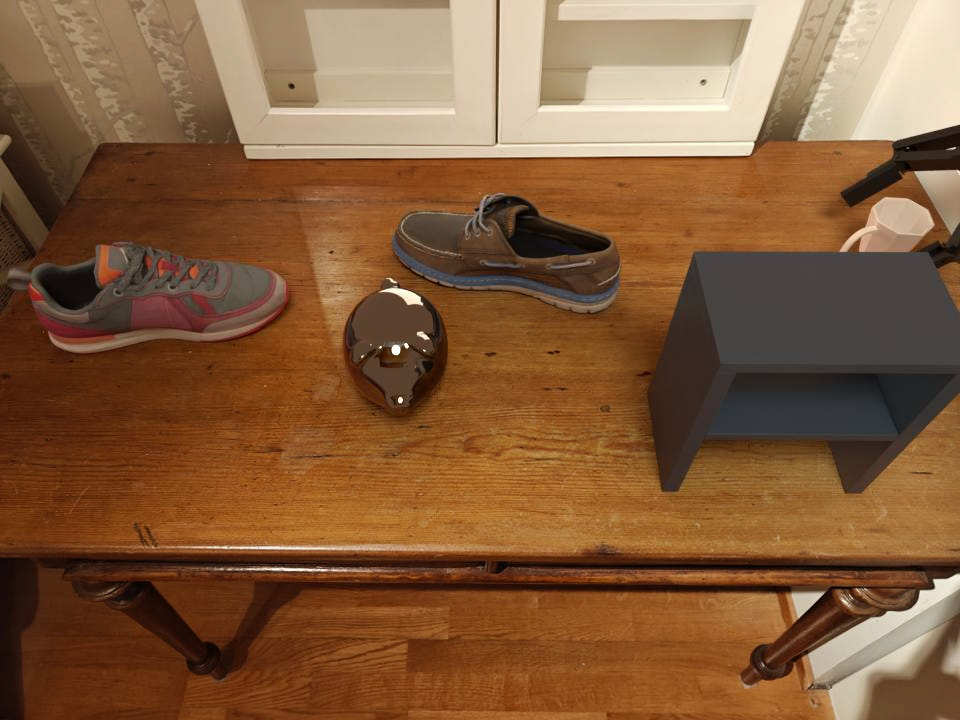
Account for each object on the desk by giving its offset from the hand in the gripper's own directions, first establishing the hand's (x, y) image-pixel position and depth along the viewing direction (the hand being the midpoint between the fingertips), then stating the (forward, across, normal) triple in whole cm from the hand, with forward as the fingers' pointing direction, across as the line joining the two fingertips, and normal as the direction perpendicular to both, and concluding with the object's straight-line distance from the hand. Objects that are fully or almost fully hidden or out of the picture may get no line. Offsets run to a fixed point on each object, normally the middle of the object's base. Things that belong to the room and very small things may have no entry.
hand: (862, 237), depth 85 cm
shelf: (+17, -25, +10) cm, 32 cm away
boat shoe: (+34, +1, +27) cm, 44 cm away
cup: (+2, 0, -5) cm, 6 cm away
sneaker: (+63, -7, +56) cm, 84 cm away
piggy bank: (+43, -16, +36) cm, 59 cm away
